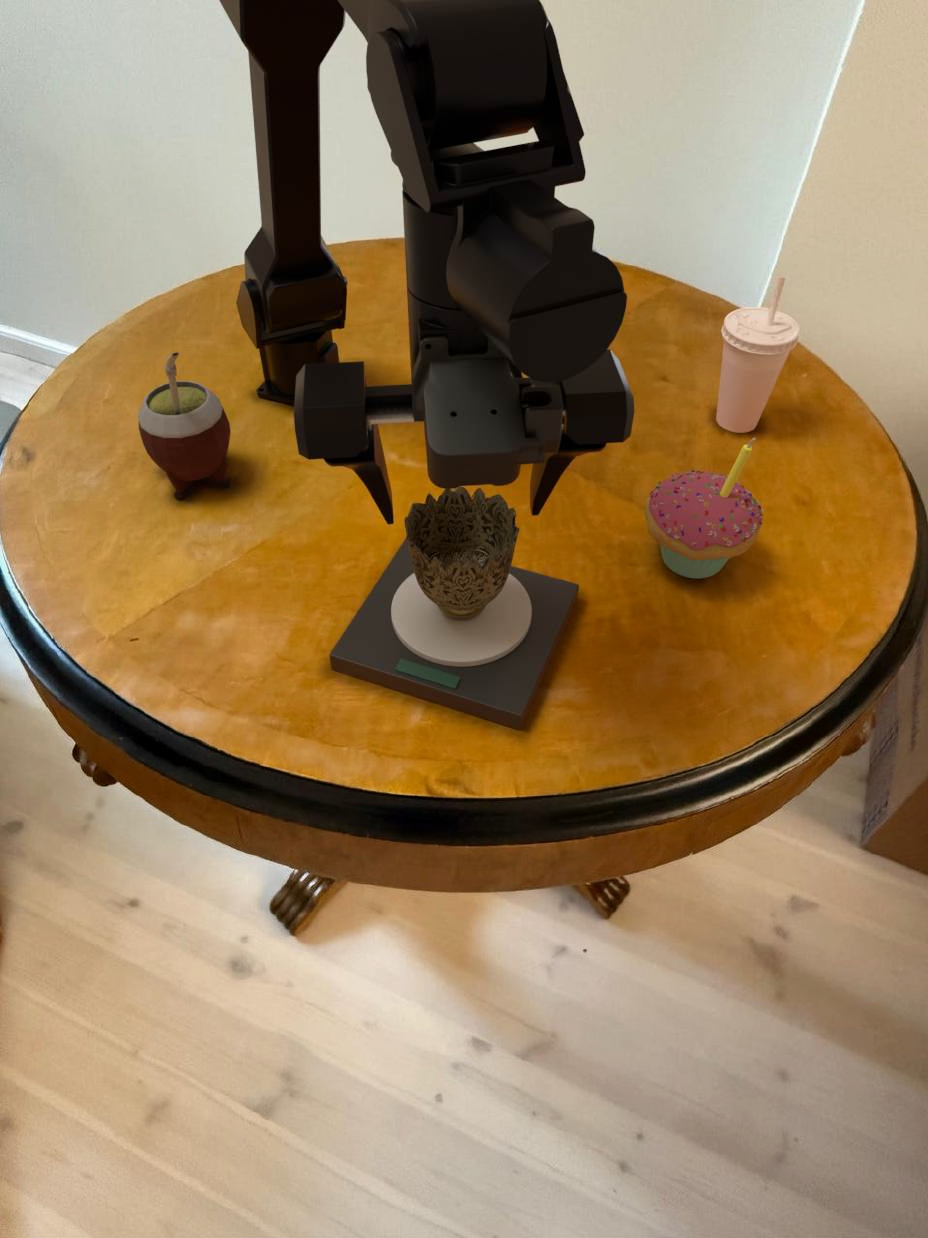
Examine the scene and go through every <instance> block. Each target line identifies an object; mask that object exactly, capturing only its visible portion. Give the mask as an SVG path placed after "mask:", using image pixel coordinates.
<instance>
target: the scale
mask: <svg viewBox="0 0 928 1238" xmlns="http://www.w3.org/2000/svg"><path fill="white" fill-rule="evenodd" d="M579 590H580V584H579V583H575V582H571V581H568V580H566V579H565V580H564V579H560V578H558V577H554V576H550V575H546V574H543V573H539V572H535V571H532V570H528V569H525V568H521V567H518V566H514V565H511V568H510V572H509V575H508V578H507V581H506V583H505V585H504V587H503V589H502V590H501V592H500V593H499V594H498V596H497V597H496V598H495V599H494V600H492V601H491V602H490V603H488V604H487V605H486V607H485V609H484V610H483V611H482V613H481V614H480V615H478V616H477V617H475V618H473V619H470V620H465V621H458V620H453V619H450V618H448V617H446V616H445V615H444V614H443V613H442V612H441V611H440V610H439V608H438V606H437V604H435V603H434V602H432V601H431V600H430V599H429V598H428V597H427V596H426V595H425V594H424V593H423V591H422V590H421V588H420V586H419V584H418V582H417V580H416V576H415V573H414V570H413V566H412V562H411V557H410V552H409V547H408V542H407V538H405V539H404V541H403V542H402V544H400V546H399V548H398V550H397V551H396V552H395V554H394V555H393V557H392V558H391V560H390V562H389V563H388V564H387V566H386V568H385V569H384V571H383V573H381V575H380V577H379V579H378V580H377V581H376V582H375V584H374V586H373V587H372V589H371V590H370V592H369V594H368V595H367V596H366V598H365V600H364V601H363V602H362V604H361V606H360V607H359V609H358V610H357V612H356V613H355V615H354V616H353V618H352V619H351V621H350V623H348V625H347V627H346V629H344V631H343V633H342V635H341V636H340V637H339V639H338V640H337V643H336V644H335V645H334V647H333V648H332V650H331V651H330V653H329V655H328V656H329V662H330V667H331V670H333V671H336V672H339V673H342V674H344V675H348V676H352V677H353V678H357V679H361V680H364V681H366V682H370V683H372V684H376V685H379V686H382V687H384V688H388V689H392V690H395V691H397V692H401V693H404V694H407V695H410V696H413V697H416V698H418V699H419V698H420V699H423V700H426V701H428V702H432V703H435V704H437V705H440V706H444V707H448V708H450V709H453V710H457V711H458V712H459V711H460V712H463V713H466V714H469V715H472V716H475V717H478V718H481V719H484V720H487V721H491V722H494V723H497V724H499V725H503V726H506V727H509V728H512V729H515V730H518V731H520V730H522V727H523V726H524V723H525V721H526V719H527V716H528V714H529V712H530V709H531V707H532V704H533V702H534V700H535V697H536V695H537V693H538V691H539V689H540V686H541V684H542V682H543V679H544V677H545V674H546V672H547V670H548V668H549V665H550V663H551V660H552V659H553V656H554V654H555V652H556V649H557V647H558V645H559V642H560V640H561V638H562V635H563V633H564V631H565V629H566V626H567V624H568V622H569V619H570V617H571V615H572V612H573V611H574V608H575V605H576V603H577V601H578V596H579Z"/></svg>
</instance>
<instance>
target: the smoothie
mask: <svg viewBox="0 0 928 1238" xmlns="http://www.w3.org/2000/svg"><path fill="white" fill-rule="evenodd" d="M786 278H787V276H786V275H784V274H779V275H778V277H777V281H776V285H775V288H774V292H773V296H772V300H771V303H770V307H769V308H768V307H762V306H761V307H760V306H749V307H747V306H746V307H742V308H738V309H735V310H733V311H731V312H729V313H728V314H727V315H725V317H724V321H723V324H722V327H721V332H720V333H721V336H722V338H723V346H722V357H721V367H720V368H721V369H720V376H719V386H718V396H717V406H716V416H715V420H716V423H717V425H718V426H719V427H721V429H724V430H726V431H727V432H731V433H738V434H744V433H749V432H752V431H754V429H755V428H756V427H757V425H758V423H759V421H760V418H761V416H762V414H763V411H764V410H765V408H766V406H767V403H768V401H769V399H770V396H771V394H772V392H773V390H774V387H775V385H776V383H777V381H778V378H779V376H780V374H781V372H782V370H783V368H784V365H785V364H786V361H787V359H788V357H789V354H790V352H791V350H793V349H795V347H796V346H797V344H798V342H799V337H800V335H801V334H800V333H801V329H800V325H799V324H798V323H797V321H795V319H794V318H792V317H791V316H790V315H788V314H786V313H784V312H783V311H779V310H778V306H779V302H780V300H781V296H782V293H783V290H784V285H785V281H786Z"/></svg>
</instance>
